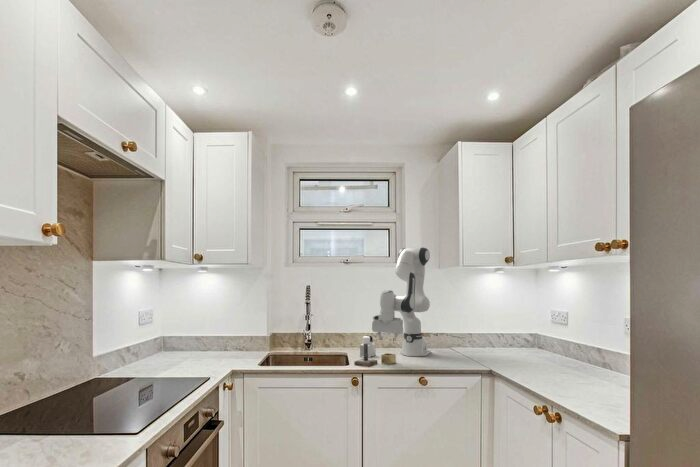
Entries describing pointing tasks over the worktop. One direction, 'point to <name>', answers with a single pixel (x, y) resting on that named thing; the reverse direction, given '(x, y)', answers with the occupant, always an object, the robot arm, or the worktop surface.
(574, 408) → the worktop surface
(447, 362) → the worktop surface
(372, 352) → the container
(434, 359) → the worktop surface
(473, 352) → the worktop surface
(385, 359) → the collar
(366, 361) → the post board
